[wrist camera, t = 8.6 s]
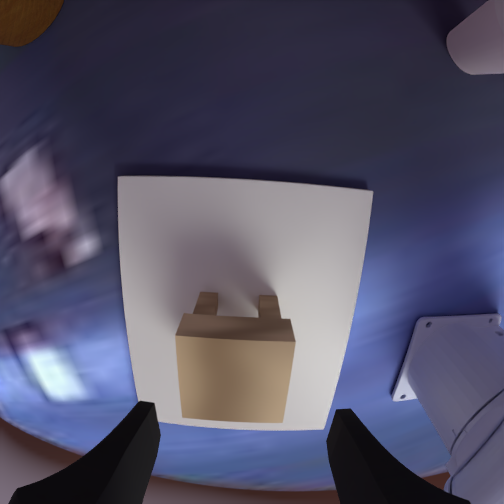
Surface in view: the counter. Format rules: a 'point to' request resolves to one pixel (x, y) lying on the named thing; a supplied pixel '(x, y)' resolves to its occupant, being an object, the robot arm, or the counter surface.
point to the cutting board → (241, 276)
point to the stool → (234, 362)
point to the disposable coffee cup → (26, 19)
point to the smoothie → (479, 40)
